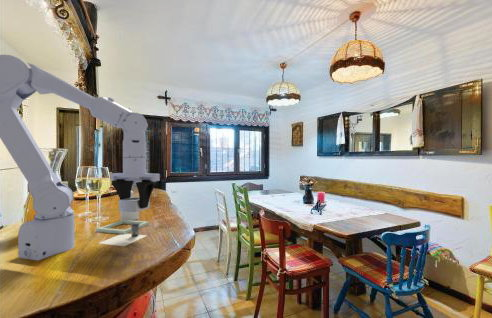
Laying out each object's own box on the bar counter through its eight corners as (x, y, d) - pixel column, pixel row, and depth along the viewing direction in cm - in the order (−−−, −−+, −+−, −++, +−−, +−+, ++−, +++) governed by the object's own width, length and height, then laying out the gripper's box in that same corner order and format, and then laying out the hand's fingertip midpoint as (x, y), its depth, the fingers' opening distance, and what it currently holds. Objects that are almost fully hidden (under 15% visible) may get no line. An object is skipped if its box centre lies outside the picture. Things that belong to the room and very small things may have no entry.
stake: (136, 237, 62) (136, 224, 62) (129, 236, 63) (128, 224, 63) (141, 235, 64) (141, 222, 64) (133, 234, 64) (133, 222, 64)
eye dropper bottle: (123, 221, 82) (123, 187, 82) (140, 220, 83) (140, 187, 83) (118, 224, 78) (118, 189, 78) (136, 223, 79) (136, 188, 79)
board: (124, 250, 56) (124, 246, 56) (98, 247, 58) (98, 243, 58) (147, 239, 63) (146, 235, 63) (123, 236, 65) (123, 233, 65)
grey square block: (135, 212, 60) (135, 200, 60) (118, 211, 61) (118, 199, 61) (149, 208, 65) (149, 197, 65) (133, 207, 66) (133, 196, 66)
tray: (124, 237, 65) (124, 231, 65) (96, 234, 67) (96, 228, 67) (148, 227, 74) (148, 221, 74) (123, 225, 77) (123, 219, 77)
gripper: (166, 157, 65) (166, 205, 65) (124, 157, 69) (124, 203, 69) (149, 157, 58) (150, 211, 58) (103, 157, 62) (104, 208, 62)
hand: (134, 207), depth 63 cm, fingers closed on grey square block, 5 cm apart
